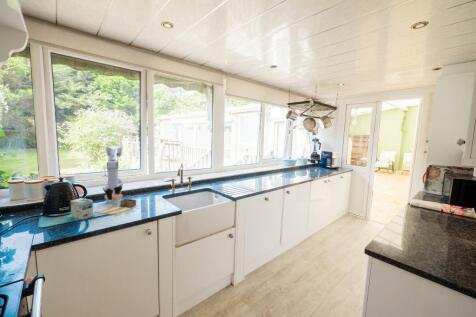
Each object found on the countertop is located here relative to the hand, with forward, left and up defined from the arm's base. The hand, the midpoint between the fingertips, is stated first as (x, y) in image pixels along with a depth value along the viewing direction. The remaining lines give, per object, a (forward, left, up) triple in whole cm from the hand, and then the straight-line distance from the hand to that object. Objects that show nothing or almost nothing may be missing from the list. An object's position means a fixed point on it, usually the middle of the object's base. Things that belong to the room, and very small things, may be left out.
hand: (113, 198), depth 136 cm
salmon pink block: (0, 0, 0) cm, 0 cm away
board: (0, +1, -9) cm, 9 cm away
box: (+1, +12, -9) cm, 15 cm away
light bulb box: (-11, -13, -9) cm, 19 cm away
